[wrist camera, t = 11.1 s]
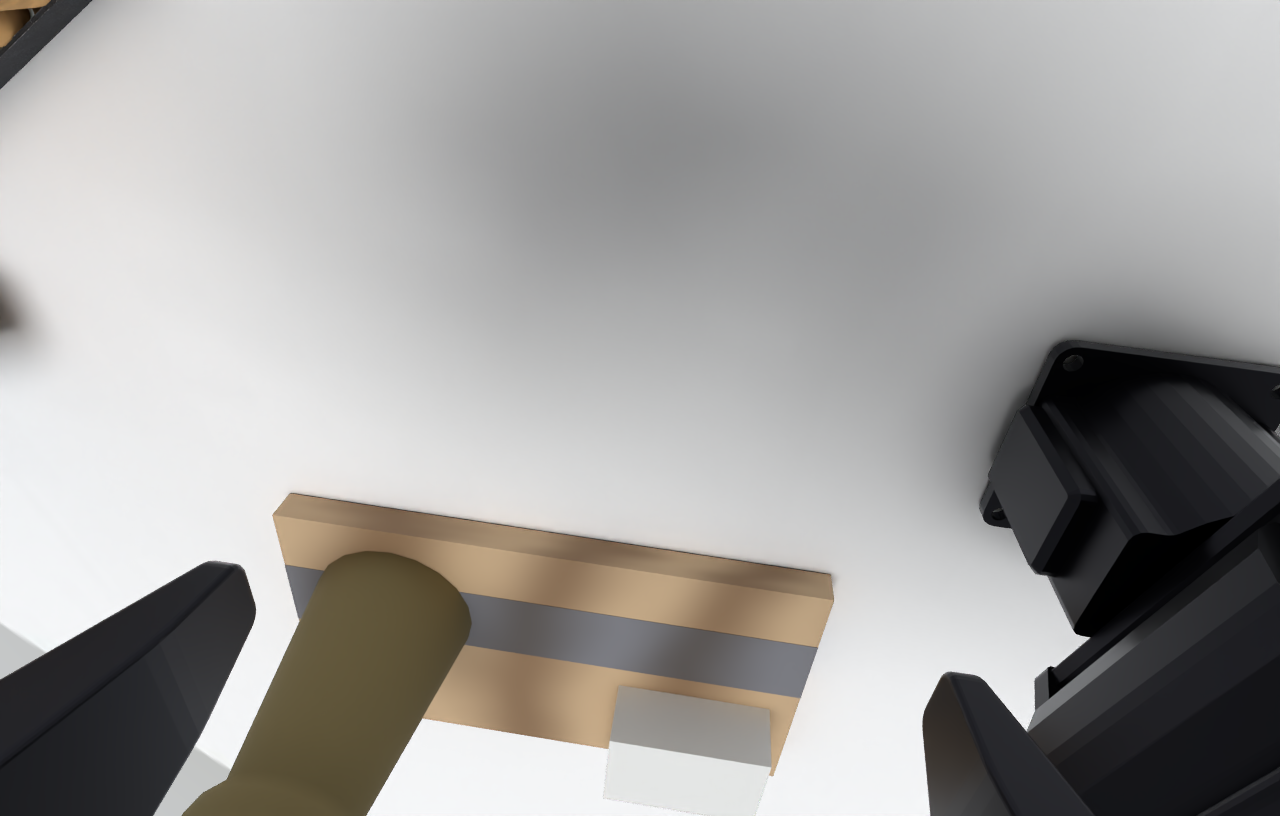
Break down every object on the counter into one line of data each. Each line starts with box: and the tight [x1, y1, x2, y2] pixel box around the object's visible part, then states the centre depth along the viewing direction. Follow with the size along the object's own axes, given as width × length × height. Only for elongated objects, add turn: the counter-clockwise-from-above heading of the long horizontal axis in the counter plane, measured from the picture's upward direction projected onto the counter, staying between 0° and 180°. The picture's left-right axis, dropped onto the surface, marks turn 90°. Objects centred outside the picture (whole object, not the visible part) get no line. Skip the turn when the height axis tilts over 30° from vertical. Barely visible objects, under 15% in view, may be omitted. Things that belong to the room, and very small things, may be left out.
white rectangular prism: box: [603, 685, 772, 816], centre depth 29 cm, size 6×4×2 cm, turn 85°
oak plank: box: [272, 494, 834, 776], centre depth 29 cm, size 20×11×1 cm, turn 85°
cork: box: [182, 551, 472, 816], centre depth 23 cm, size 6×6×11 cm
